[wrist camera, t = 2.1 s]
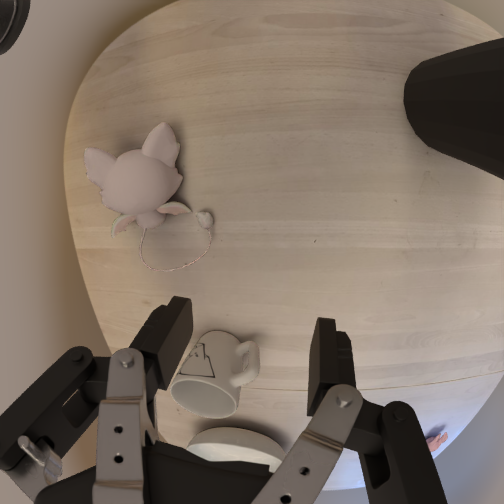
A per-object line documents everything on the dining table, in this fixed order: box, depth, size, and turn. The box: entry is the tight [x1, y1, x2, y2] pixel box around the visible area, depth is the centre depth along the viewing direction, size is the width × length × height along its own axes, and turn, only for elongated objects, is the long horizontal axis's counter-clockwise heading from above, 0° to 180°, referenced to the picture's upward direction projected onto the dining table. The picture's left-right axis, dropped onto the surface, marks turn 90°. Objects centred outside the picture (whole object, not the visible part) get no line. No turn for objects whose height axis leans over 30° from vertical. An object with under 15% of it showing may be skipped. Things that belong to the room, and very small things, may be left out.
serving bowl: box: [186, 427, 286, 473], centre depth 51 cm, size 21×21×7 cm
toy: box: [84, 122, 213, 271], centre depth 29 cm, size 12×8×15 cm
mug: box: [170, 331, 260, 419], centre depth 36 cm, size 11×8×10 cm
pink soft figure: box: [426, 432, 448, 452], centre depth 45 cm, size 6×6×15 cm
